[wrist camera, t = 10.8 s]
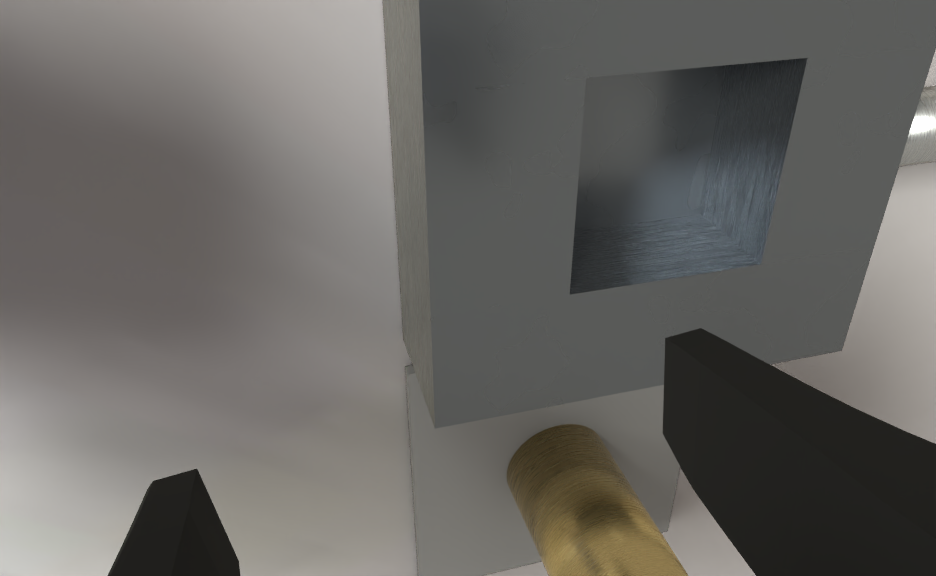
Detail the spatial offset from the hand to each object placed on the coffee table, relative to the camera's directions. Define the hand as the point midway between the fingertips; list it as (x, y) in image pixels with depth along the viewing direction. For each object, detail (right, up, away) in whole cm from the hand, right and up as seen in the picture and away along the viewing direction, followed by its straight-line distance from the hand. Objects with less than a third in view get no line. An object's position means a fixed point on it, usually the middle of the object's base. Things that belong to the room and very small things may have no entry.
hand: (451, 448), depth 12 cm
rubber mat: (+3, -3, +15) cm, 16 cm away
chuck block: (+8, +7, +10) cm, 15 cm away
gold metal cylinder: (+3, -4, +15) cm, 16 cm away
